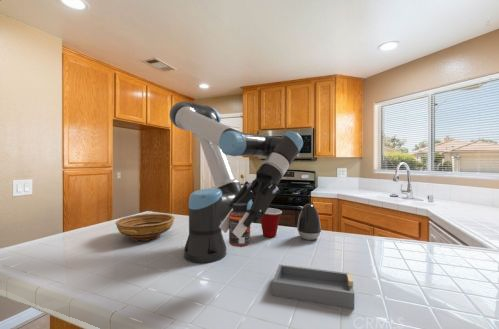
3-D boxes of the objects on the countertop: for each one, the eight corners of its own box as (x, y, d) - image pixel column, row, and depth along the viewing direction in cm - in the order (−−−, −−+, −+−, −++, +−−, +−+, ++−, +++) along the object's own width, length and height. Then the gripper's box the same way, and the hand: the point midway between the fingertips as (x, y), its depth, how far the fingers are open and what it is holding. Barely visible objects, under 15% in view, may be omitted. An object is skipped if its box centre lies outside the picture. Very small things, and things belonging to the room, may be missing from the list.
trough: (272, 295, 60) (272, 276, 60) (279, 276, 70) (279, 260, 70) (354, 308, 54) (354, 288, 54) (349, 286, 64) (349, 268, 64)
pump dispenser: (294, 235, 110) (294, 202, 110) (316, 234, 111) (316, 201, 111) (300, 242, 100) (300, 206, 99) (324, 241, 100) (324, 205, 100)
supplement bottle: (247, 248, 63) (247, 206, 63) (226, 247, 64) (226, 205, 64) (252, 241, 69) (252, 202, 69) (232, 239, 70) (232, 201, 70)
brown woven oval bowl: (153, 250, 91) (153, 229, 91) (96, 246, 94) (96, 226, 94) (185, 228, 120) (185, 213, 120) (141, 226, 124) (141, 211, 124)
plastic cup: (275, 241, 101) (275, 213, 101) (253, 237, 106) (253, 210, 106) (285, 234, 110) (285, 208, 110) (265, 231, 116) (265, 206, 115)
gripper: (301, 180, 69) (259, 250, 59) (258, 177, 84) (218, 232, 73) (289, 162, 66) (242, 232, 55) (246, 162, 80) (203, 218, 70)
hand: (229, 232), depth 64 cm, fingers closed on supplement bottle, 6 cm apart
